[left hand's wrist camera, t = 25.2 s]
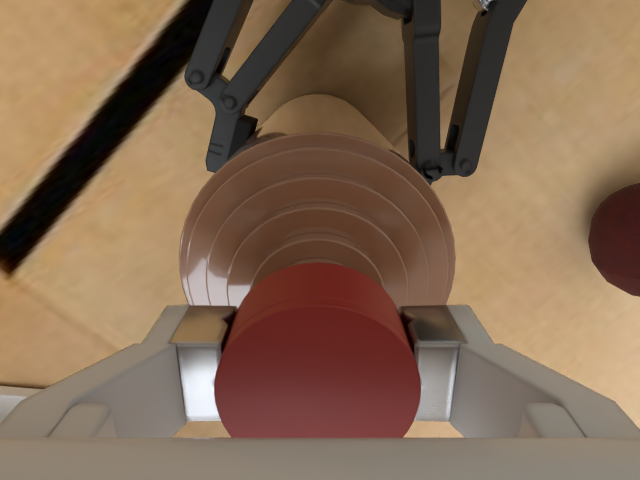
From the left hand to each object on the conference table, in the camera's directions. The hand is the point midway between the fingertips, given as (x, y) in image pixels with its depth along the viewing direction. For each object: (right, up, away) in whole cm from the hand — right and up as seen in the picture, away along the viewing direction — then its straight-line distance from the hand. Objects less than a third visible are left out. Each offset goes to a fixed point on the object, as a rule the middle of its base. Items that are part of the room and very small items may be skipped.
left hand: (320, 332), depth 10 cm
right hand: (-2, +1, +16) cm, 16 cm away
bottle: (0, +8, +20) cm, 22 cm away
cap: (0, -1, -2) cm, 2 cm away
